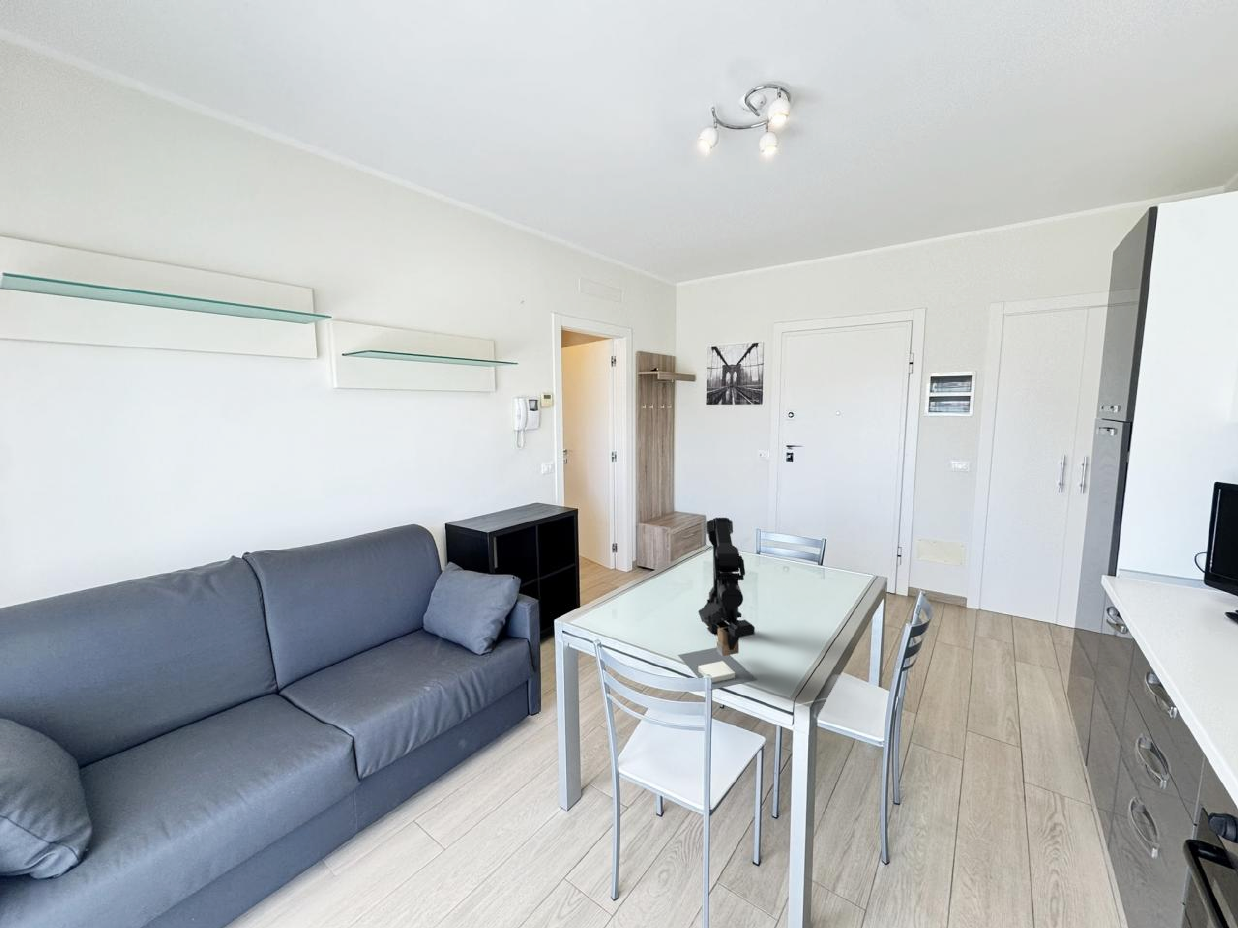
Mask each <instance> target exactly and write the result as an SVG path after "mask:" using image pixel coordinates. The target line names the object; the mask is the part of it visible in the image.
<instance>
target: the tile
mask: <svg viewBox="0 0 1238 928" xmlns="http://www.w3.org/2000/svg"><path fill="white" fill-rule="evenodd" d="M698 671H699V672H700V673H701V674H702V675H703V676H705V675H706V674H710V675H711V676H712V683H713V682H718V681H722V680H727V679H732V678H735V672H734V671H733V670H732V669H731V668H730V667H729V666H727V665H726V664H725V663H724V662H723V661H721V662H716V663H711V664H706V665H701V666H698Z"/></svg>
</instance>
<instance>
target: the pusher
mask: <svg viewBox="0 0 1238 928" xmlns="http://www.w3.org/2000/svg"><path fill="white" fill-rule="evenodd" d="M724 628H728V627H722V628H718V636H717V641H716V647H717V652H718V653H719V654H720V655H721V656H727V655H730V656H732V655H737V654H739V653H740V652H739V640H738V641H737V643H736V645H735V647H734V649H733V650H730V649H729V644H728V636H727V633H726V632H725V631H724V630H723V629H724Z"/></svg>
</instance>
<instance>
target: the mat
mask: <svg viewBox="0 0 1238 928" xmlns="http://www.w3.org/2000/svg"><path fill="white" fill-rule="evenodd" d="M677 656H678V657H679V659H681V660H682V662H683V663H684V664H685V665H686V666H687V667H688V669H690V671H692V673H693V674H694V675H695V676H696V677H697V678H698V679H699V678H703V677H704V676H703V675H702V674H701V673H700V672H699V671H698V666H701V665H706V664H711V663H716V662H721V661H723V662H724V663H725V664H726V665H727V666H729V667H730V668H731V669H732V670H733V671H734V672H735V678H732V679H727V680H722V681H718V682H713V683H712V690H711V691H713V690H718V689H722V688H727V687H731V686H735V685H741V684H744V683H750V682H753V681H758V678H756V677H755V676H754V675H753V674H752V673H751V672H750V671H749V670H748V669H746V667H744V666H743V665H742V664H741V663H739V661H737V660H736V658H734V657H733V656H732V655H727V656H721V655H720V654H719V653H718V652H717V646H716V647H712V648H706V649H701V650H696V651H691V652H686V653H682V654H677Z"/></svg>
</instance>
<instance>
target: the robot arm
mask: <svg viewBox="0 0 1238 928" xmlns="http://www.w3.org/2000/svg"><path fill="white" fill-rule="evenodd" d="M705 533H706V535H707V537H708V541H709V542H710V545H712V571H713V572H712V579H713V581H712V583H713V584H712V585H713V586H712V588H711V589H710V590H709V592H708V598H707V599H706V604H705V605H704V606H703V607H702V608H701V609H699V610H698V614H699V617H700V619H701V620H700V621H701V622H702V623H704V624H705V625H706V626H707V627H706V629H707V631H708V632H709V633H711V634H712V635H714V636H715V637H718V628H722V627H728V628H724V629H723V630H724V631H725V632H726V633H727V636H728V644H729V649H730V650H733V649H734V647H735V645H736V643H737V641H738V642H739V640H740V638H743V637H751V636H753V635H754V636H755V633H756V631H755V629H756V628H755V626H754V625H753V624H752V623H751V622H749V621H748V620H746V619H738V618H742V613H741V612H740V611H739V607H741V605H742V603H743V602H744V595H743V593H742V590H741V588H740V586H739V585H740V584H739V581H744V579H745V578H744V576H746V570H745V563H744V559H743V556H742V555H740V552H739V549H738V548H737V547H736V546H734V545H733V540H732V534H733V533H734V523H733V520H731V519H730V518H728V517H714V518H712V519H710V520H707V521H706V523H705ZM738 572H739V573H738Z"/></svg>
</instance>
